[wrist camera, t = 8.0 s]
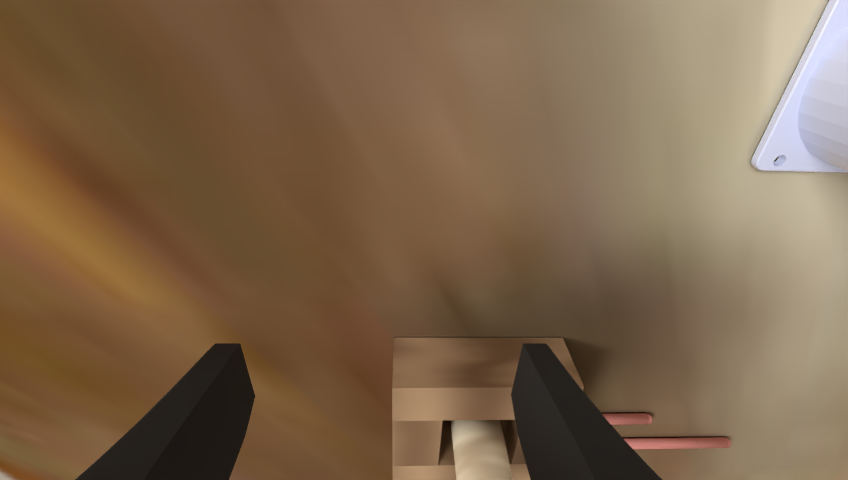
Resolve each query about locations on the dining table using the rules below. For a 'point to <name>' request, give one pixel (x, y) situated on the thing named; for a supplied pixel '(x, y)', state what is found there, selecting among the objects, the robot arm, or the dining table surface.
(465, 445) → the tan round log
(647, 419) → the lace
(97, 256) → the dining table surface
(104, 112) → the dining table surface
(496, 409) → the wooden square frame
